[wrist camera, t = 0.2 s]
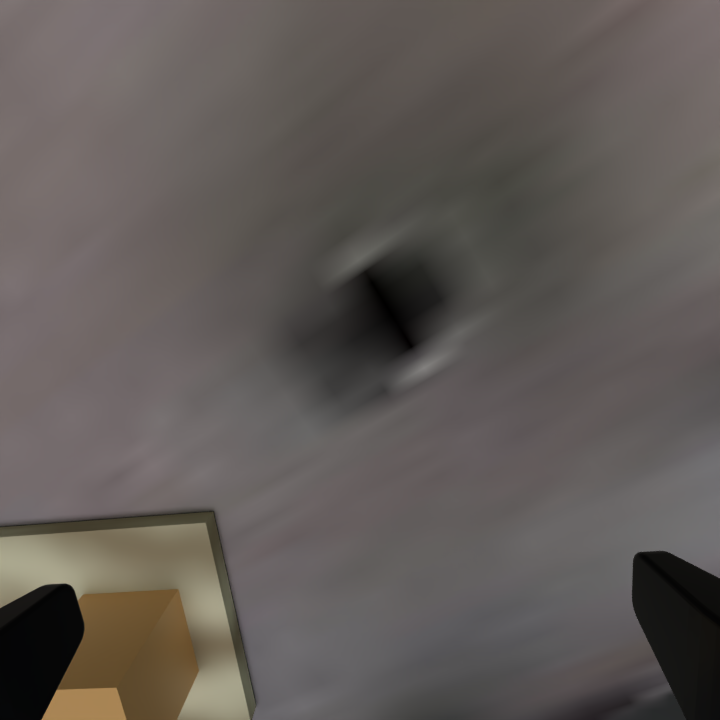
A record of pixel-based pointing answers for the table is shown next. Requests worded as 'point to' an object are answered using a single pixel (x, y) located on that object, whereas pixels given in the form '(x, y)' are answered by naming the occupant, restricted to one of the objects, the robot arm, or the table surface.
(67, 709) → the tan wooden cube
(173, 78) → the table surface
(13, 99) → the table surface
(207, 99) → the table surface
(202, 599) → the birch board
